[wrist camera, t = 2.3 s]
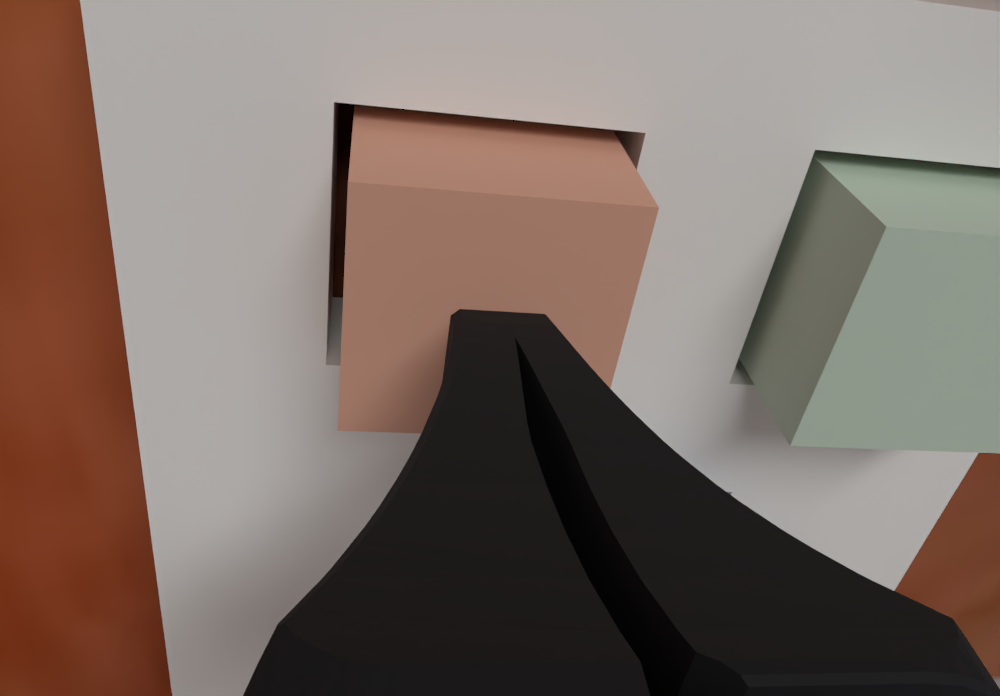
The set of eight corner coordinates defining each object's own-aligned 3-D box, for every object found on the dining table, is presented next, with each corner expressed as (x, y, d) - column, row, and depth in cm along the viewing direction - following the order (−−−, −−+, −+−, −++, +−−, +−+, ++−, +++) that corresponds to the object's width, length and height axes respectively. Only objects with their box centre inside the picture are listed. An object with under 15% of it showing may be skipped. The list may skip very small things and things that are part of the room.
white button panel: (1126, 6, 16) (1229, 42, 14) (802, 616, 26) (835, 686, 24) (113, -135, 13) (64, -115, 11) (190, 617, 23) (172, 698, 21)
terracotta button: (613, 130, 15) (659, 207, 12) (566, 341, 17) (596, 439, 15) (355, 105, 14) (347, 181, 11) (344, 328, 16) (337, 431, 14)
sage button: (1022, 171, 16) (1136, 247, 14) (924, 360, 18) (1005, 453, 16) (806, 150, 15) (886, 226, 13) (734, 349, 18) (790, 446, 15)
